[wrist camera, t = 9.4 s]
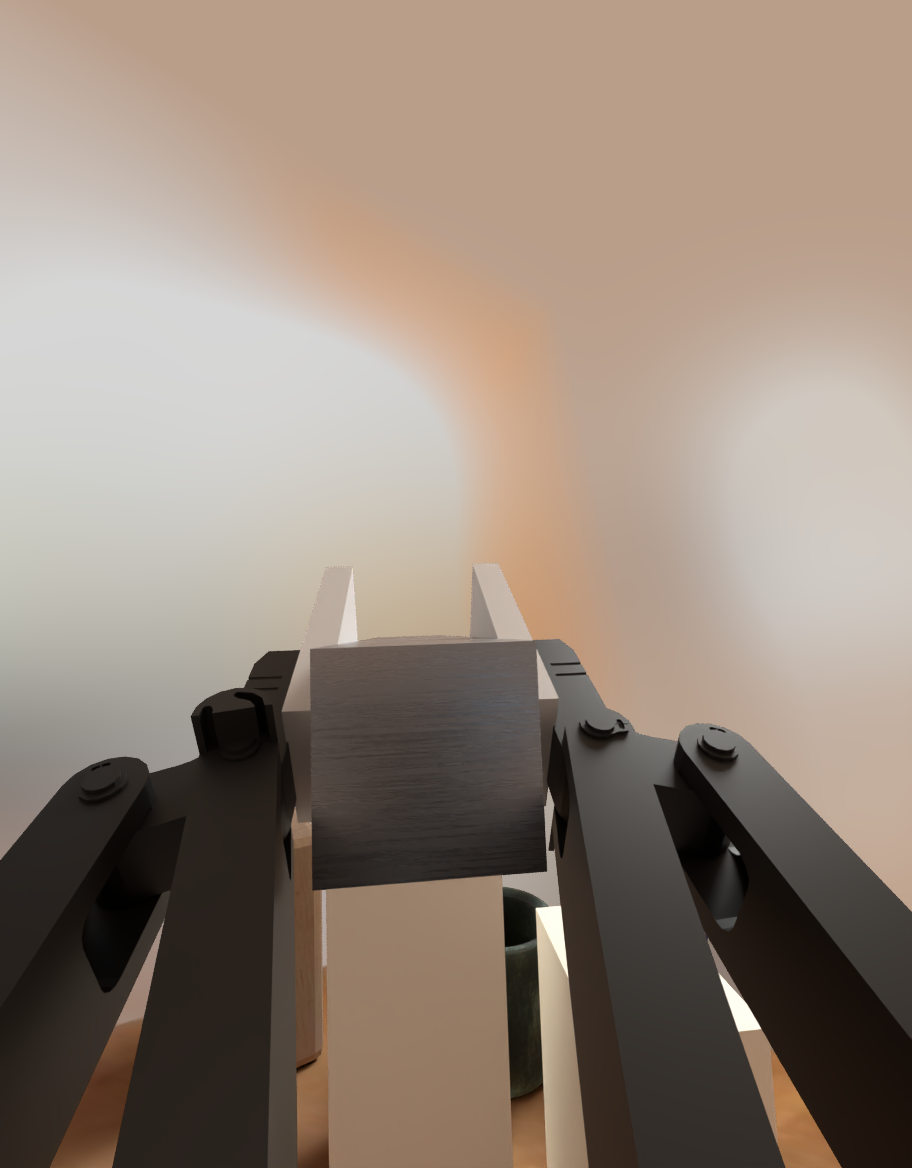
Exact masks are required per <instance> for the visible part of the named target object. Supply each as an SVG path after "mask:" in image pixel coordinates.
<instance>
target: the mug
mask: <svg viewBox="0 0 912 1168" xmlns="http://www.w3.org/2000/svg"><path fill="white" fill-rule="evenodd" d="M502 890H503V916H504V942H505V968H506V994H507V1020H508V1046H509V1072H510V1098H514V1097H519V1096H522V1095H525V1094H528V1093H530V1092H531V1091H533V1090H535V1089H536V1088H537V1087H539V1086H540V1085H541V1084H542V1083H543V1063H542V1040H541V1018H540V995H539V972H538V949H537V926H536V908H543V907H549V906H548V905H547V904H546V903H545V902H543V901H542V900H541V899H539V898H538V897H536V896H534V895H532V894H530V893H527V892H525V891H521V890H518V889H514V888H508V887H502Z"/></svg>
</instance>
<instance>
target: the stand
mask: <svg viewBox="0 0 912 1168" xmlns="http://www.w3.org/2000/svg"><path fill="white" fill-rule="evenodd" d="M326 914H327V915H326V924H327V1019H328V1113H329V1168H513V1149H512V1123H511V1098H510V1072H509V1046H508V1020H507V994H506V968H505V942H504V916H503V890H502V875H498V876H486V877H473V878H461V879H449V880H437V881H425V882H412V883H400V884H388V885H376V886H364V887H351V888H339V889H327V890H326Z"/></svg>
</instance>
